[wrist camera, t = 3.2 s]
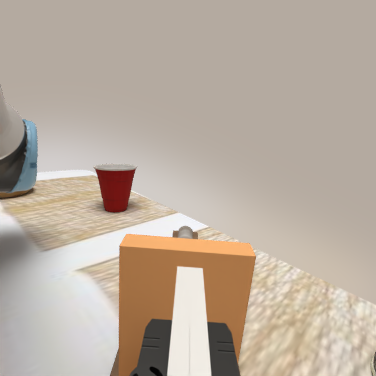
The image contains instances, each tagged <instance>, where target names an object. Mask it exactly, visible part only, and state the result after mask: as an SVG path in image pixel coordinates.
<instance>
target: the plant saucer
mask: <svg viewBox="0 0 376 376" xmlns="http://www.w3.org/2000/svg"><path fill="white" fill-rule="evenodd" d="M29 190H30V189H29ZM29 190H26V191H15V192H13V193H6V192H0V198H9V197H15V196H20V195H23V194H25V193H27V192H28V191H29Z"/></svg>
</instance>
